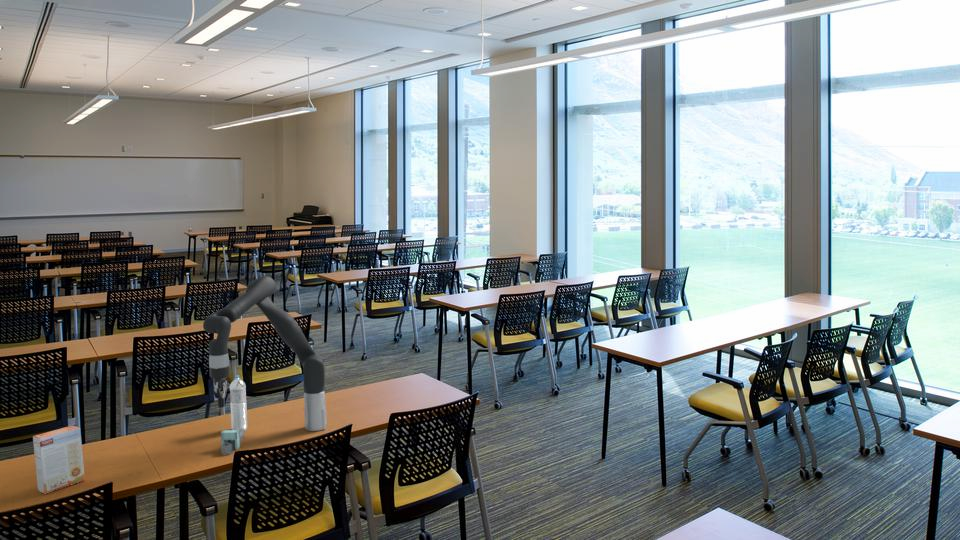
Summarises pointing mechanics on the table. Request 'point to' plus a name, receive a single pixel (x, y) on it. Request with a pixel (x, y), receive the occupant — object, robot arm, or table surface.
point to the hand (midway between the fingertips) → (221, 406)
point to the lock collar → (230, 437)
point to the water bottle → (238, 404)
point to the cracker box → (58, 458)
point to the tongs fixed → (231, 444)
